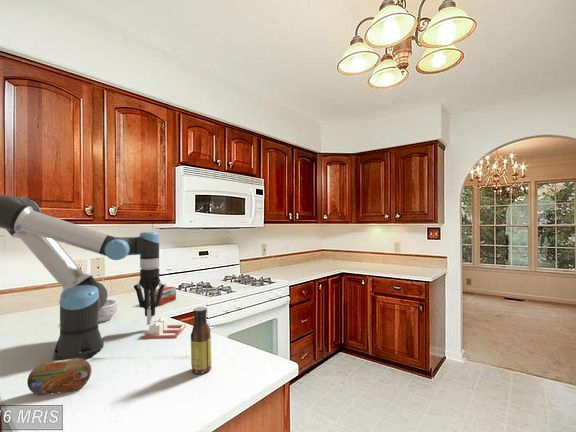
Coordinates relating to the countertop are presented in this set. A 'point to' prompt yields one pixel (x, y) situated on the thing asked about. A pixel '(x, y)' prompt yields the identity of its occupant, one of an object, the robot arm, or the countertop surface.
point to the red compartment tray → (167, 332)
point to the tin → (59, 376)
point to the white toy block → (163, 322)
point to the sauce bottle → (200, 342)
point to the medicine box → (165, 295)
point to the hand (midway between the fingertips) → (150, 323)
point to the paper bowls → (107, 310)
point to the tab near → (156, 328)
